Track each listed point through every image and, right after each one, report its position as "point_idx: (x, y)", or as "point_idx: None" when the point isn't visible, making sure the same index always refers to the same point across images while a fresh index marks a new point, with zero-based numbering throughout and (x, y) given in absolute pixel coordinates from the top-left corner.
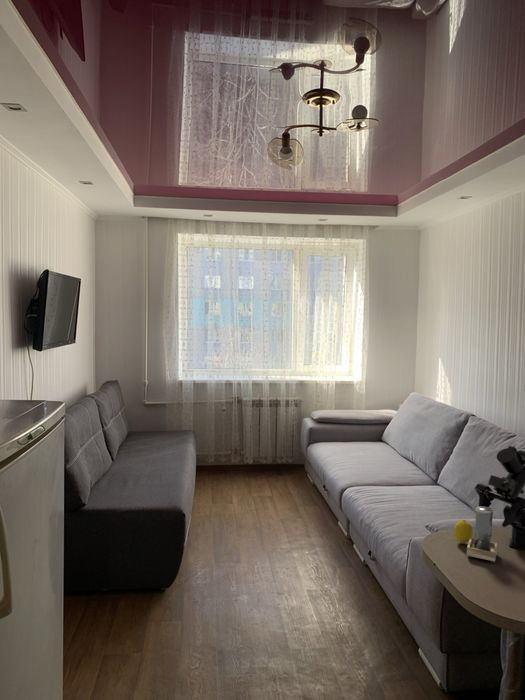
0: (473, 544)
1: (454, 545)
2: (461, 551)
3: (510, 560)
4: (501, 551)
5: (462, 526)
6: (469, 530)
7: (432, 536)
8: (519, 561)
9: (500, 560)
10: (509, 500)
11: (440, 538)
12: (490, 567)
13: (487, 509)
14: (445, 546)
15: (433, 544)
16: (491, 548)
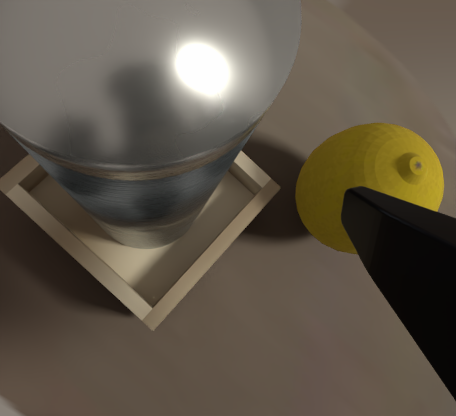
0: (235, 195)
1: (310, 143)
2: None
3: (45, 351)
4: (179, 384)
5: (356, 136)
6: (321, 189)
7: (431, 102)
8: (12, 407)
9: (65, 282)
10: None
11: (403, 127)
12: (2, 151)
13: (82, 32)
14: (307, 87)
15: (339, 43)
16: (151, 275)
